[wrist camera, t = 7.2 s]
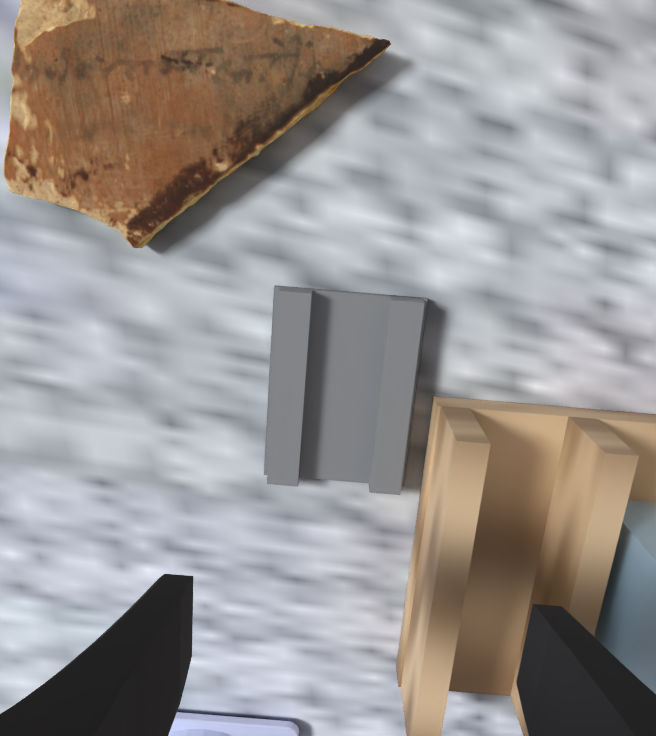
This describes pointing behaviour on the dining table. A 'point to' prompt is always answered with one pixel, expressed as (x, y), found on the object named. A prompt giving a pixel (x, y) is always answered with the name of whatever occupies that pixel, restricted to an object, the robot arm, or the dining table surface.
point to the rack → (511, 538)
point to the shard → (158, 100)
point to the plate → (632, 595)
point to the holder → (342, 386)
